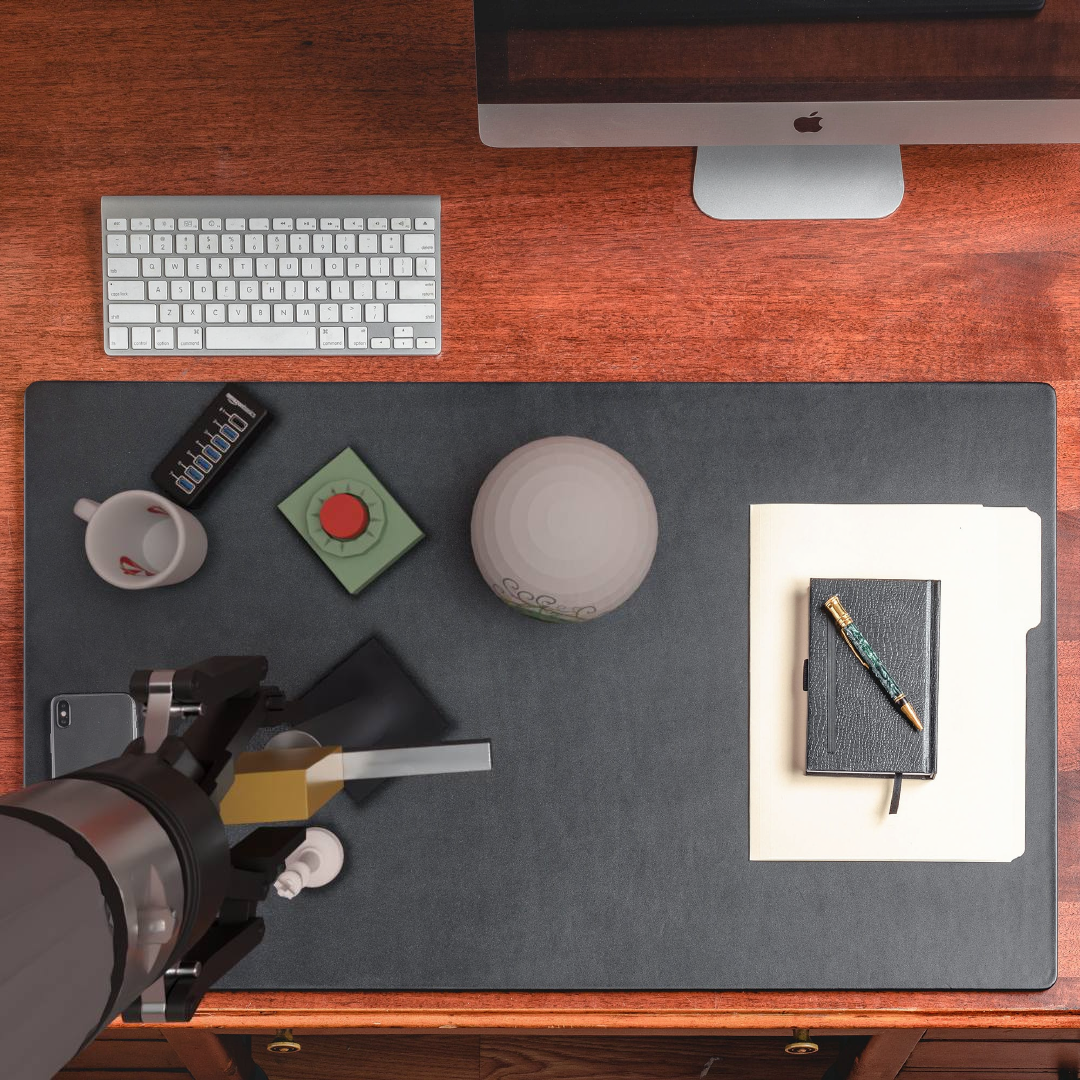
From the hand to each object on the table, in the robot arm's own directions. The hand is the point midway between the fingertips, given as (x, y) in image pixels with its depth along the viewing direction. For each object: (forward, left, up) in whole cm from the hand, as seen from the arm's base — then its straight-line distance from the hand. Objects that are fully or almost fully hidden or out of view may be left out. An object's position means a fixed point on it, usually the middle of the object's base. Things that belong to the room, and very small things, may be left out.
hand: (283, 769), depth 51 cm
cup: (-24, -4, -26) cm, 36 cm away
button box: (-14, +10, -26) cm, 31 cm away
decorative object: (-1, +23, -26) cm, 35 cm away
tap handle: (+3, +3, -2) cm, 5 cm away
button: (-14, +10, -22) cm, 28 cm away
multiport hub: (-27, +5, -26) cm, 38 cm away
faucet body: (0, 0, -26) cm, 26 cm away
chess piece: (+6, -11, -26) cm, 29 cm away
